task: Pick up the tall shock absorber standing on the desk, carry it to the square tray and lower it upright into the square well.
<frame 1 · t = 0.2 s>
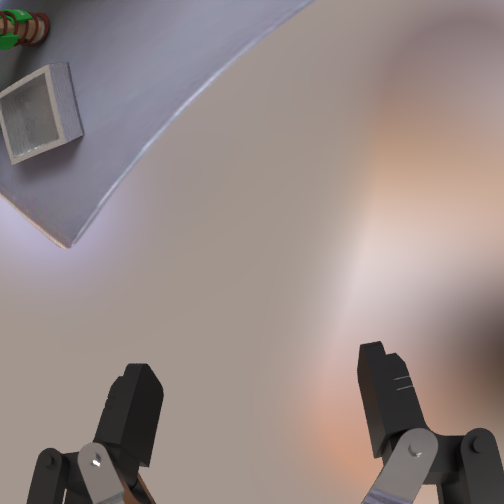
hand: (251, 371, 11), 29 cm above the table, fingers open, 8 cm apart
shock absorber: (40, 29, 25), on the table
square tray: (46, 110, 32), on the table
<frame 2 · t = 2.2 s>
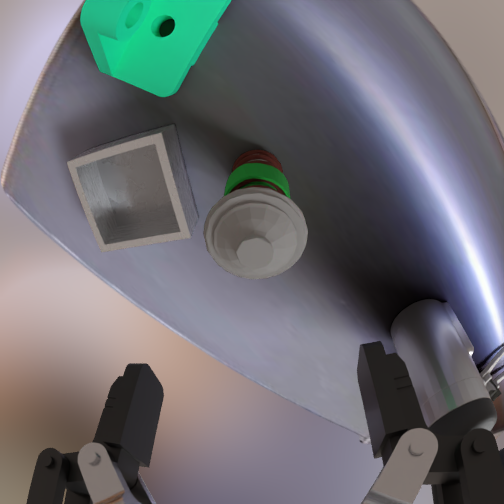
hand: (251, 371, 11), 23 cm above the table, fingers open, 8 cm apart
camera mount: (171, 29, 23), on the table
shock absorber: (257, 170, 31), on the table
square tray: (141, 181, 31), on the table
bike brake: (499, 358, 49), on the table
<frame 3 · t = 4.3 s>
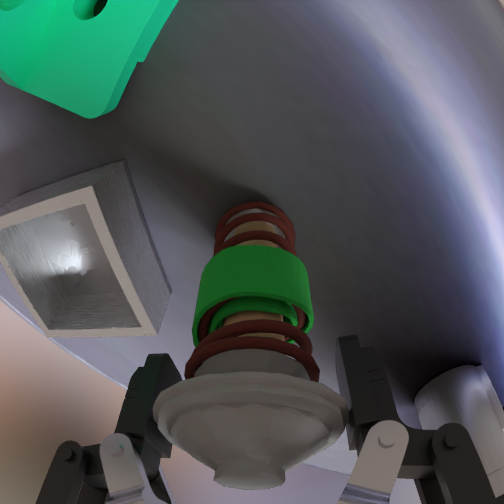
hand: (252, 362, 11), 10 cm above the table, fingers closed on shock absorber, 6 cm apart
camera mount: (112, 8, 13), on the table
shock absorber: (255, 229, 20), on the table, touching gripper
square tray: (88, 242, 21), on the table
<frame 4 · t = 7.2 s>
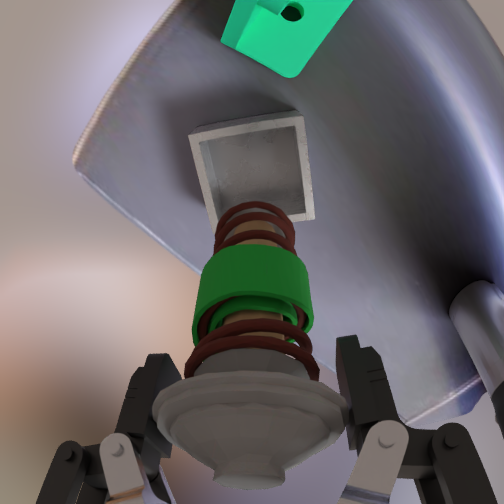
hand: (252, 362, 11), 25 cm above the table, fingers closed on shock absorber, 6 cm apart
camera mount: (289, 16, 24), on the table
shock absorber: (255, 229, 20), point 14 cm above the table, touching gripper
square tray: (255, 163, 32), on the table
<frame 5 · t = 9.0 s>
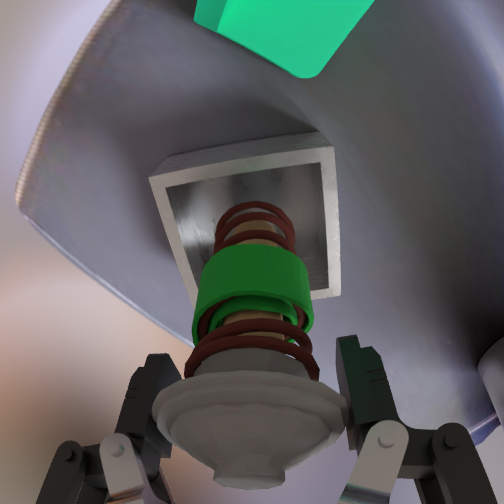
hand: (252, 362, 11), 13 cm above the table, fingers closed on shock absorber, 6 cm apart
shock absorber: (255, 228, 20), point 3 cm above the table, touching gripper
square tray: (255, 209, 23), on the table
when the fingers open (12 cm above the table, at t = 10.4 s): shock absorber stays where it is, resting on square tray.
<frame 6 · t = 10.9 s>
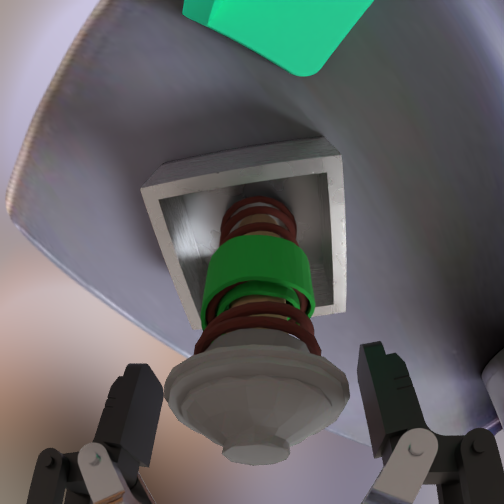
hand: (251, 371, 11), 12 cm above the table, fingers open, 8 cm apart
shock absorber: (258, 223, 21), resting on square tray
square tray: (255, 220, 21), on the table
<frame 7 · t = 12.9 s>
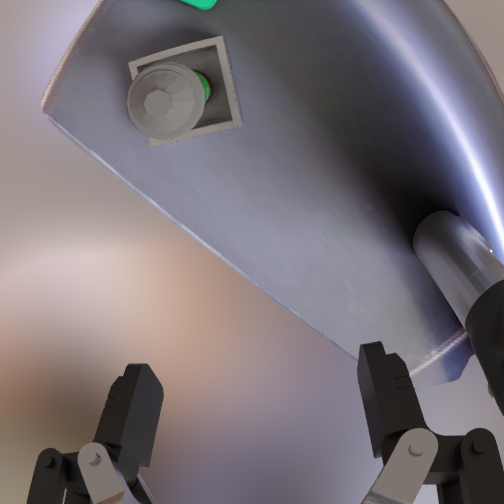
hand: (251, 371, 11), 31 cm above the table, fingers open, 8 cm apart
shock absorber: (192, 89, 33), resting on square tray
square tray: (191, 89, 33), on the table
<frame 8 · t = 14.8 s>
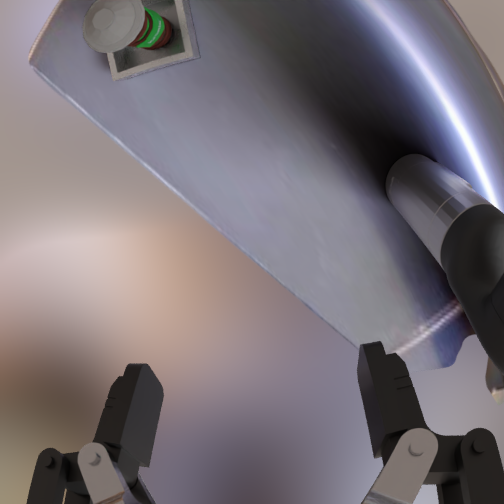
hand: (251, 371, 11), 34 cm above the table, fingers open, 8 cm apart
shock absorber: (155, 33, 31), resting on square tray
square tray: (154, 33, 31), on the table
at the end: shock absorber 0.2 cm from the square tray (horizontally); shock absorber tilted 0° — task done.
